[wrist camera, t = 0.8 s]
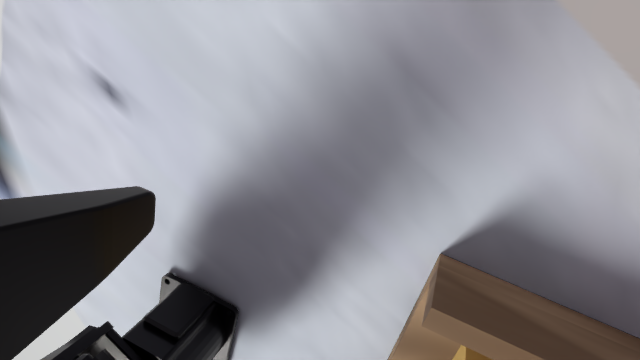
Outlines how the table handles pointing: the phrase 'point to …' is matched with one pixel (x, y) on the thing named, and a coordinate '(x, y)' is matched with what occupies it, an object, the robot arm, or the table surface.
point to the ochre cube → (468, 354)
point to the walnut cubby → (501, 322)
